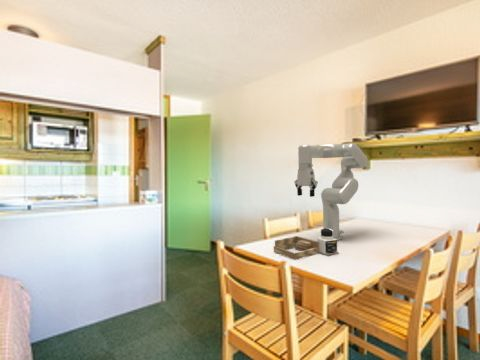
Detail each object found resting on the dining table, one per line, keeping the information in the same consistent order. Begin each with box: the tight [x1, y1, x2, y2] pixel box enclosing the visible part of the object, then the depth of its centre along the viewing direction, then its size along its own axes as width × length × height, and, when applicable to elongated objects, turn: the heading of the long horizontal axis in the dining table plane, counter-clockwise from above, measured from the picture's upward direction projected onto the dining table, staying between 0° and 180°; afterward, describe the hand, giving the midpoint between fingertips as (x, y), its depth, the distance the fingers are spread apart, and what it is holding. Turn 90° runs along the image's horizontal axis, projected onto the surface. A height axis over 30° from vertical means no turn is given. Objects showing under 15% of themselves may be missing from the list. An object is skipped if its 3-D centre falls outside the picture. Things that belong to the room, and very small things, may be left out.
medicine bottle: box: [316, 228, 338, 254], centre depth 139 cm, size 7×7×12 cm
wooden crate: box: [273, 235, 319, 261], centre depth 140 cm, size 17×16×6 cm
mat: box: [318, 251, 340, 257], centre depth 139 cm, size 8×8×1 cm
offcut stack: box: [295, 240, 312, 252], centre depth 144 cm, size 4×9×5 cm, turn 32°
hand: (305, 195), depth 155 cm, fingers open, 9 cm apart
